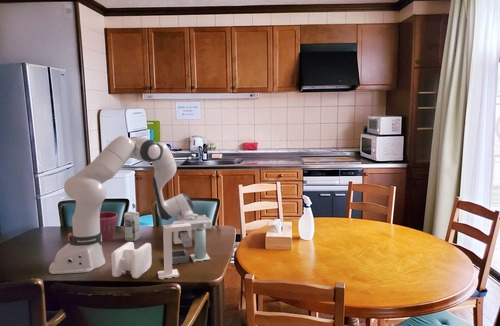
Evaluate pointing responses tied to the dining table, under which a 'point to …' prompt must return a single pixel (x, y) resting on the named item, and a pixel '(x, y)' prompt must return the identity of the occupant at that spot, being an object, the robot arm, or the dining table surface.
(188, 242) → the bolt
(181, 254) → the socket collar
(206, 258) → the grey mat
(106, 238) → the plant pot
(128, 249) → the cable organizer
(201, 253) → the pale blue bottle
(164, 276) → the stand
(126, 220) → the syrup box
